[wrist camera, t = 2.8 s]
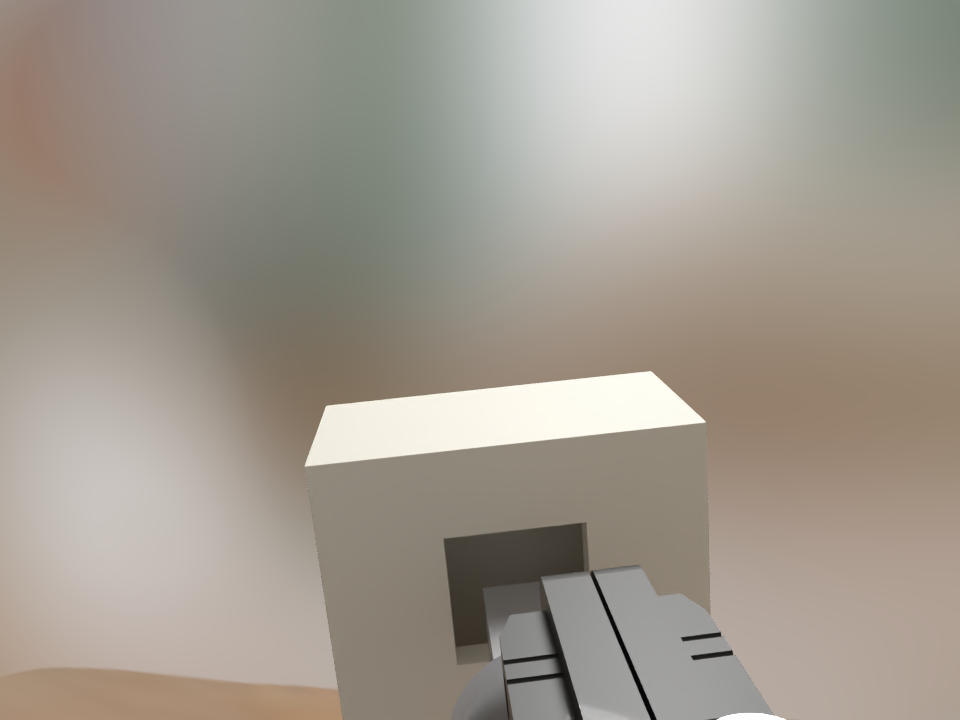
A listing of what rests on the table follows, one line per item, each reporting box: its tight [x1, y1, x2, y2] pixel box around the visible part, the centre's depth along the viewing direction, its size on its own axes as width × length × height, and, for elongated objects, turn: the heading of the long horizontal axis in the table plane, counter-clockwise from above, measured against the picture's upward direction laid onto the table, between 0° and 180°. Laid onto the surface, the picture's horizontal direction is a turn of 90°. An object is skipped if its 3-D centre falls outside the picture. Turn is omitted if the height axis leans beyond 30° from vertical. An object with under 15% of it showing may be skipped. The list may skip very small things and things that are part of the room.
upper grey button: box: [450, 581, 541, 720], centre depth 21 cm, size 7×5×5 cm
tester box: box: [305, 371, 710, 720], centre depth 30 cm, size 6×12×22 cm, turn 94°
